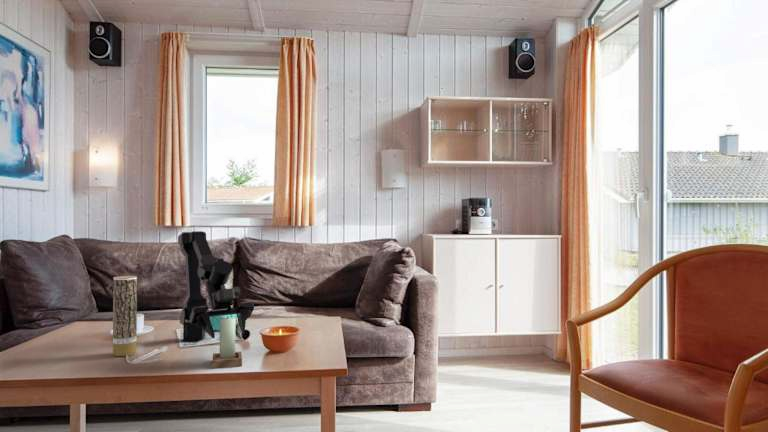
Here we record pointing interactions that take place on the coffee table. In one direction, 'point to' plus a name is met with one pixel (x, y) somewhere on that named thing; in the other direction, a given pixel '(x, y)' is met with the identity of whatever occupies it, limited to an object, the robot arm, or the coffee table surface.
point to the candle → (227, 338)
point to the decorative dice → (216, 320)
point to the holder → (226, 361)
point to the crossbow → (147, 356)
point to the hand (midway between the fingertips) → (229, 335)
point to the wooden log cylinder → (124, 315)
